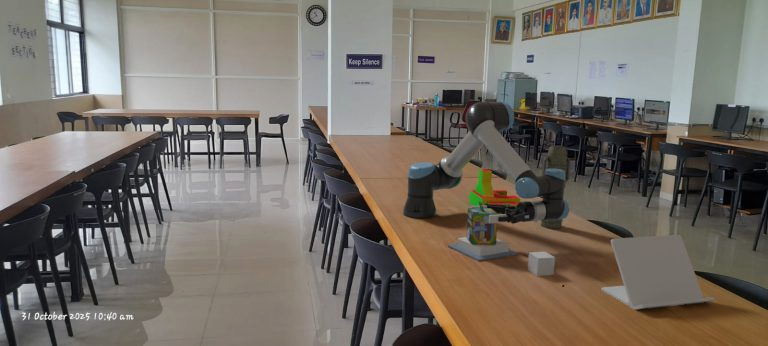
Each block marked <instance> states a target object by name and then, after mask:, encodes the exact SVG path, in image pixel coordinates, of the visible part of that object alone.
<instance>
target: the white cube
mask: <svg viewBox="0 0 768 346" xmlns="http://www.w3.org/2000/svg"><path fill="white" fill-rule="evenodd" d="M555 261H556V257H555V256H553V254H552V255H551V254H550V253H548V252H547V251H533V252H532V251H531V252H530V251H529V252H528V261H527V270H528V271H529V272H530V273H532V274H534V275H535V276H536V277H539V276H553V275H554V273H555V272H554V271H555Z"/></svg>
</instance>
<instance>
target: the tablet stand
mask: <svg viewBox="0 0 768 346" xmlns="http://www.w3.org/2000/svg"><path fill="white" fill-rule="evenodd" d="M610 245H611V246H612V250H613V254H614V257H615V260H616V263H617V267H618V271H619V274H620V276H621V280H622V283H623V285H616V286H604V287H601V289H600V290H601V291H602V292H603V291H604V293H605V294H607V295H609V296H610V295H611V296H610V297H612V298H614V299H615V298H616V300H617V299H618V300H617V301H619V300H620V301H619V302H621V303H622V302H623V304H624V305H626V306H627V305H628V306H627V307H629V306H630V307H629V308H631V309H633V310H634V309H635V311H637V310H644V309H645V310H646V308H647V309H653V308H664V307H675V306H684V305H685V304H686V305H694V304H703V303H704V302H705V303H709V302H710V303H711V302H714V301H716V298H715V296H710V297H709V296H707V297H704V295H703V292H702V289H701V287H700V283H699V281H698V278H697V276H696V273H695V269H694V267H693V264H692V262H691V259H690V256H689V254H688V251H687V248H686V245H685V243H684V240H683V237H682V236H681V235H680V234H672V235H671V234H669V235H668V234H667V235H653V236H636V237H621V238H612V239H611V240H610Z"/></svg>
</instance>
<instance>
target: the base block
mask: <svg viewBox="0 0 768 346" xmlns="http://www.w3.org/2000/svg"><path fill="white" fill-rule="evenodd" d="M456 241H457V243H456V244H457V246H458V247H460V248H462V249H465V250H467V251H469V252H471V253H473V254H475V255H478V256H485V255H491V254H497V253H503V252H508V249H509V243H508V242H505V241H502V240H500V239H498V238H496V244H471V243H470V241H469V240H468V238H467V236H463V237H458V238H457V239H456Z"/></svg>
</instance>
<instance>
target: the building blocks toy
mask: <svg viewBox="0 0 768 346" xmlns="http://www.w3.org/2000/svg"><path fill="white" fill-rule="evenodd" d="M492 174H493V171H492V170H490V169H483V168H482V169H481V168H480V169H478V181H477V183H476V186H475V188H474V190H473V189H472V190H471V189H470V190H469V203H470V204H471V206H480V205H479V201H480V202H482V205H483V206H484V204H499V205H510V206H515V207H516V206H517V205H518V203H520V202H521V197H519V196H518V195H508V190H507V189H501V190H500V189H497V190H496V189H493V186H492V185H493V184H492ZM505 213H506V212H505ZM500 214H501V213H497V215H500Z"/></svg>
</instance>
